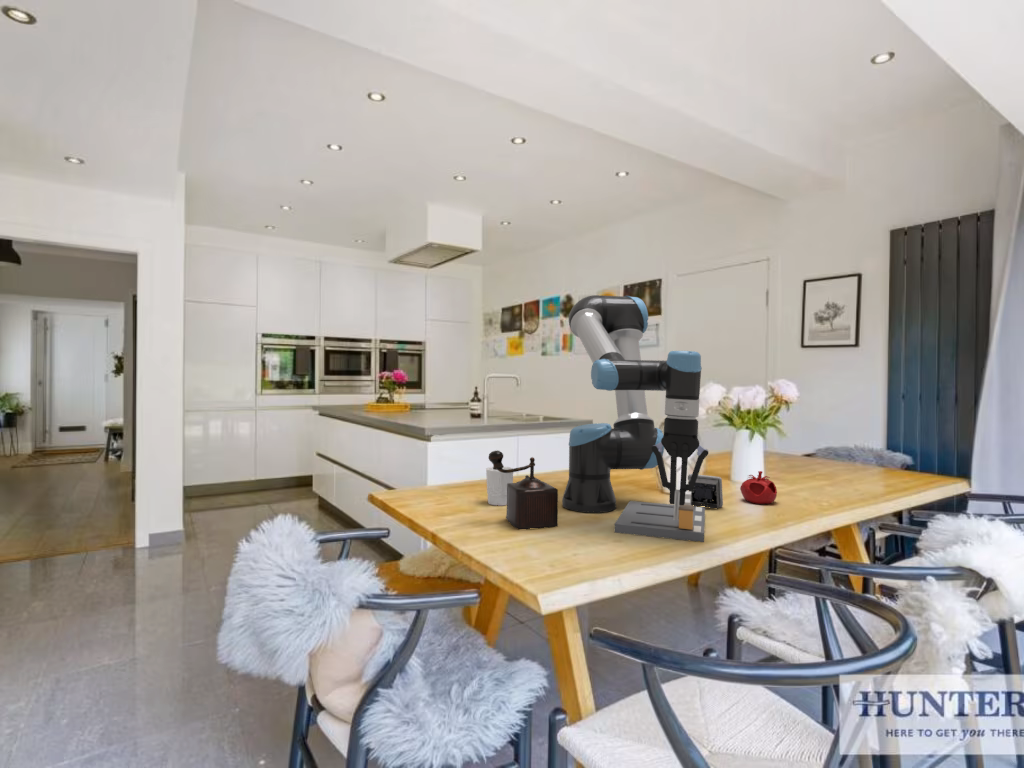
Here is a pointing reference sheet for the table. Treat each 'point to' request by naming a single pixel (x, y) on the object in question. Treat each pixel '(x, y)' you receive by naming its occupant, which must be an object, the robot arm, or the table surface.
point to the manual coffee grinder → (528, 498)
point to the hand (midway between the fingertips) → (676, 518)
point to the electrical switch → (707, 491)
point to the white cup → (498, 485)
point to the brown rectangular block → (686, 516)
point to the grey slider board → (660, 521)
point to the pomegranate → (759, 490)
